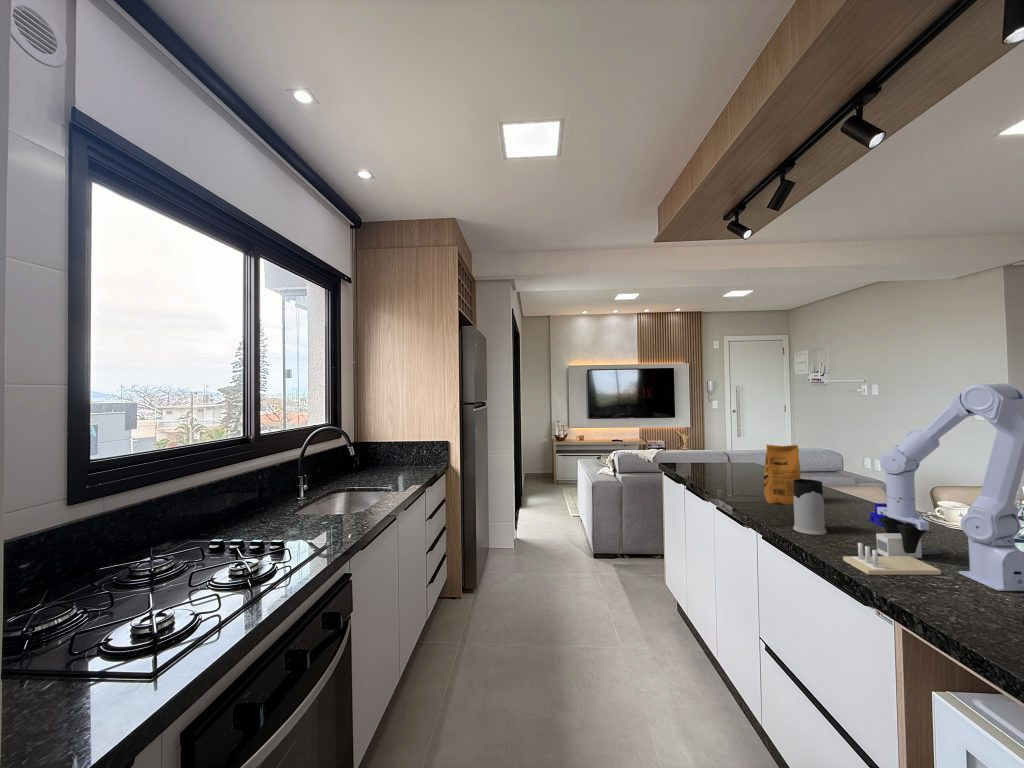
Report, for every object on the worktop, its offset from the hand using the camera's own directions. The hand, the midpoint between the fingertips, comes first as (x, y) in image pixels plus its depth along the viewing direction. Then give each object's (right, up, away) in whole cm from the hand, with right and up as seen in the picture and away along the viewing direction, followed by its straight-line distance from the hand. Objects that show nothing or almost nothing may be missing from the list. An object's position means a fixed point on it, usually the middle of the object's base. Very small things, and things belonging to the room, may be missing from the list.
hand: (902, 549), depth 117 cm
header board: (-10, -2, -7) cm, 12 cm away
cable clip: (+15, -2, +23) cm, 28 cm away
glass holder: (-9, -2, +25) cm, 26 cm away
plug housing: (+2, -1, 0) cm, 2 cm away
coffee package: (+2, -3, +56) cm, 56 cm away
